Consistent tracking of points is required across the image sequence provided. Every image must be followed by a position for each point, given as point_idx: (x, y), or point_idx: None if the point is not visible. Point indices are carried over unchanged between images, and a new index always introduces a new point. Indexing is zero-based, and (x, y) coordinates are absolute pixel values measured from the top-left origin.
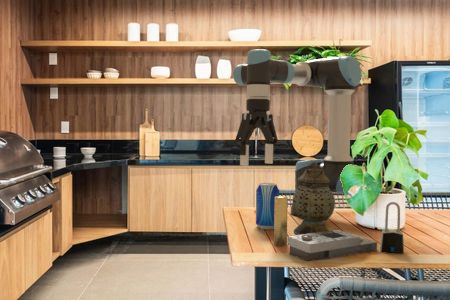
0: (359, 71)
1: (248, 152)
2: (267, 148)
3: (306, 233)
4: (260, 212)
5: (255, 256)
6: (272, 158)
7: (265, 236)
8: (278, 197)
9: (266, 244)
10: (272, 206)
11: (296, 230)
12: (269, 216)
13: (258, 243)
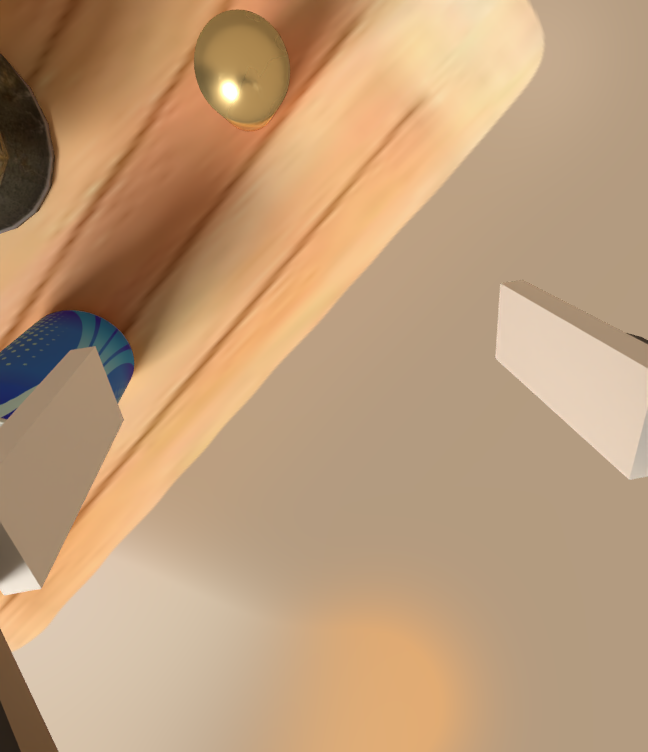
0: None
1: (584, 330)
2: (52, 504)
3: (25, 108)
4: (117, 377)
5: (461, 43)
6: (57, 374)
7: (202, 245)
8: (268, 75)
9: (294, 146)
10: (58, 348)
11: (35, 185)
12: (91, 335)
13: (307, 182)
